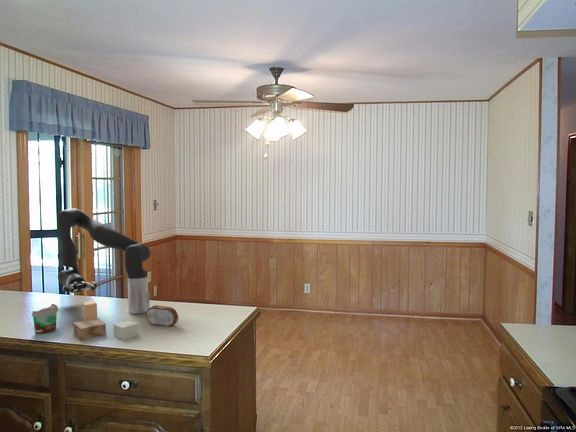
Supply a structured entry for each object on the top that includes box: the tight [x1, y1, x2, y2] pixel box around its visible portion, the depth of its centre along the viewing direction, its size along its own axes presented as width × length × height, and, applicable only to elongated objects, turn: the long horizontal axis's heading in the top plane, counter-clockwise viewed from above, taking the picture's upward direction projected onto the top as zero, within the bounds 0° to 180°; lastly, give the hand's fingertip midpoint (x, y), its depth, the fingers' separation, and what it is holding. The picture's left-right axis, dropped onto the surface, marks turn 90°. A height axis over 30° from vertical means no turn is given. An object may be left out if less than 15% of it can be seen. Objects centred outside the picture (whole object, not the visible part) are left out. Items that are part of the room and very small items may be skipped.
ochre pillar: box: [81, 300, 98, 321], centre depth 202 cm, size 5×5×10 cm
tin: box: [146, 304, 179, 327], centre depth 202 cm, size 15×3×8 cm, turn 71°
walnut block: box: [73, 317, 107, 341], centre depth 190 cm, size 10×10×5 cm
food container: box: [31, 303, 59, 335], centre depth 194 cm, size 12×6×10 cm, turn 168°
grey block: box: [113, 319, 139, 340], centre depth 189 cm, size 7×7×5 cm
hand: (83, 289), depth 211 cm, fingers open, 8 cm apart
